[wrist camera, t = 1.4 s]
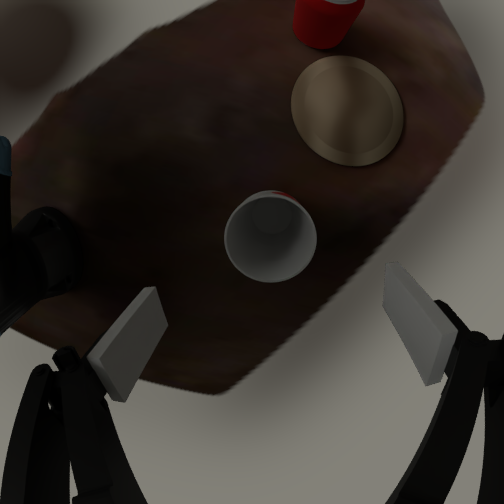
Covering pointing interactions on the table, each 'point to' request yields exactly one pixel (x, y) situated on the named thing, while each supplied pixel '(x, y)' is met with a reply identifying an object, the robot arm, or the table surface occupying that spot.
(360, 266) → the table surface
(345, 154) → the plate
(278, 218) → the cup
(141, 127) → the table surface
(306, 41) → the beverage can
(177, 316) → the table surface
